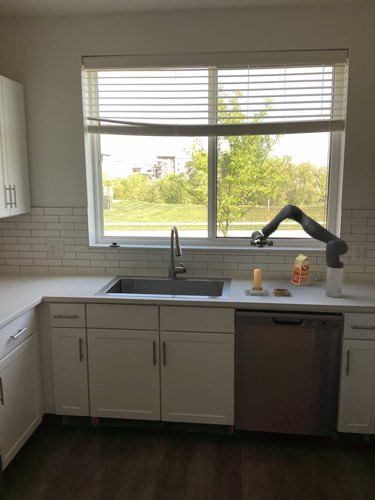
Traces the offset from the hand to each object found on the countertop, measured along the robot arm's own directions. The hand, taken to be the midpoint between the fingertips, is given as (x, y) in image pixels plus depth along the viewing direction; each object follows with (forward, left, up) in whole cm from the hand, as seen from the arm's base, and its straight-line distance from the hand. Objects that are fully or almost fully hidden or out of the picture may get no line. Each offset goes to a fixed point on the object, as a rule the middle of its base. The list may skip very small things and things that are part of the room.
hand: (262, 244), depth 260 cm
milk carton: (-23, -22, -28) cm, 42 cm away
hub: (-1, +16, -28) cm, 32 cm away
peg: (-1, +16, -27) cm, 31 cm away
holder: (-15, +14, -28) cm, 34 cm away
